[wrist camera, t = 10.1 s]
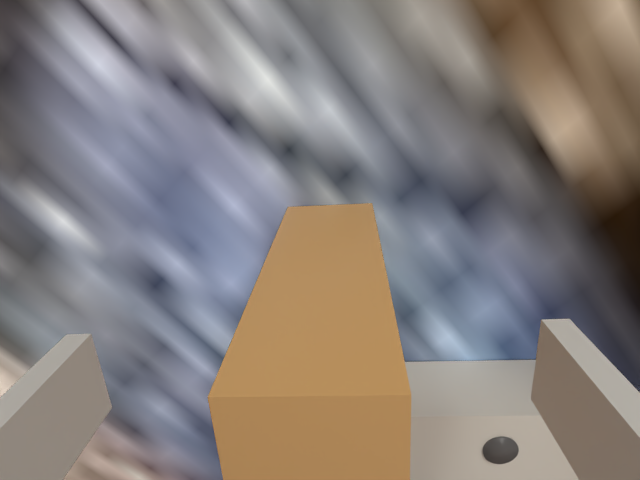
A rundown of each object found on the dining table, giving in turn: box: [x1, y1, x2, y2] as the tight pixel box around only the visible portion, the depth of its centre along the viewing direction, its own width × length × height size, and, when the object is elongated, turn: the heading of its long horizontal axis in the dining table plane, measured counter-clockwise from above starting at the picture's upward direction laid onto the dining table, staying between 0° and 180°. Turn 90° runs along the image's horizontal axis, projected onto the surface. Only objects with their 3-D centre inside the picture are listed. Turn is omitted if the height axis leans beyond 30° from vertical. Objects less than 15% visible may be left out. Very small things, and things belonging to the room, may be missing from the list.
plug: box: [208, 203, 411, 480], centre depth 15 cm, size 4×4×13 cm
